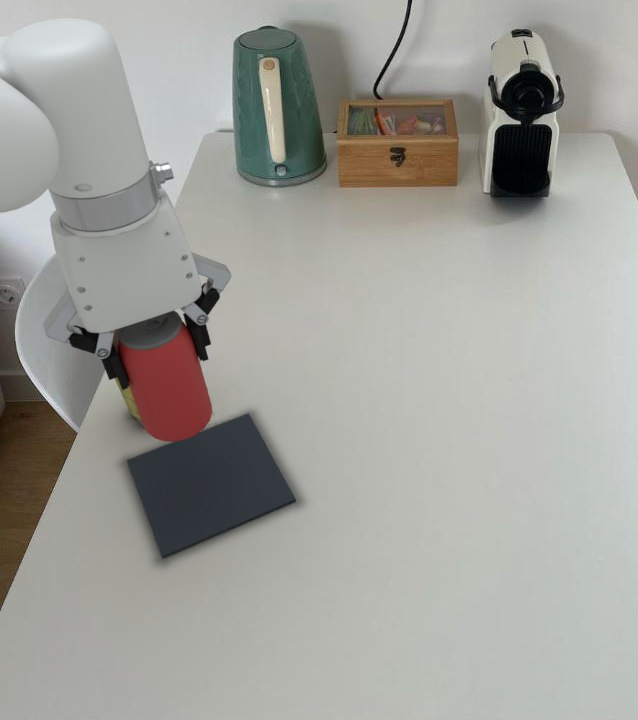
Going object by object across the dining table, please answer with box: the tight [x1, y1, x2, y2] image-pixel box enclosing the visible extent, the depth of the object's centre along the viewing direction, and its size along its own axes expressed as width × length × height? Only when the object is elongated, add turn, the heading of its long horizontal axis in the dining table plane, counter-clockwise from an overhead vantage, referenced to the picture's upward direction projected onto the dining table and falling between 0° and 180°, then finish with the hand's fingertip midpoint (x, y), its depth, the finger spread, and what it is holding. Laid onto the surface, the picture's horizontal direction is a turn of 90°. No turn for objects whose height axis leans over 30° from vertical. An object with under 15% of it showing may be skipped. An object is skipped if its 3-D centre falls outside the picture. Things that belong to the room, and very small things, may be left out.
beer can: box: [117, 310, 213, 443], centre depth 75 cm, size 7×7×12 cm
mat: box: [126, 412, 297, 559], centre depth 86 cm, size 14×14×1 cm
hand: (161, 364), depth 74 cm, fingers closed on beer can, 6 cm apart
